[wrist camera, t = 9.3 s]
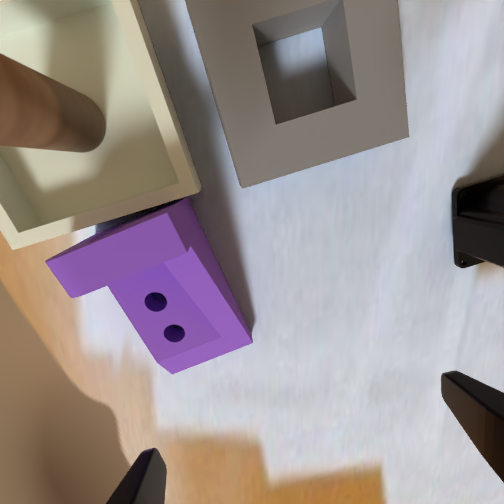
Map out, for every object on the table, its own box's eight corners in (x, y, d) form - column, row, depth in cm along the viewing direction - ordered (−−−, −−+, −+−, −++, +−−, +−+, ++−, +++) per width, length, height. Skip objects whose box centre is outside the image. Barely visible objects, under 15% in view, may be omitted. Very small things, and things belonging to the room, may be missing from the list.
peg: (94, 67, 14) (-162, -121, 5) (129, 150, 16) (-18, 128, 6) (17, 92, 14) (-381, -47, 5) (59, 172, 16) (-190, 184, 6)
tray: (133, -12, 14) (110, -55, 12) (202, 188, 18) (197, 192, 15) (-62, 49, 14) (-133, 20, 12) (46, 236, 18) (12, 250, 15)
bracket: (97, 233, 19) (28, 269, 12) (187, 195, 18) (166, 212, 12) (175, 360, 22) (155, 440, 16) (251, 331, 22) (261, 399, 16)
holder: (358, -45, 15) (389, -95, 12) (380, 141, 18) (409, 136, 15) (187, 8, 15) (178, -29, 12) (239, 184, 18) (242, 188, 15)
